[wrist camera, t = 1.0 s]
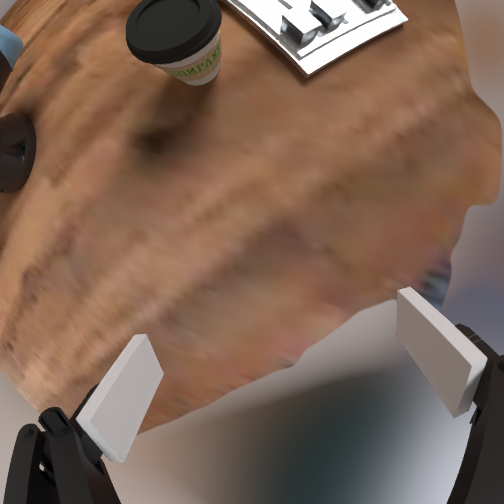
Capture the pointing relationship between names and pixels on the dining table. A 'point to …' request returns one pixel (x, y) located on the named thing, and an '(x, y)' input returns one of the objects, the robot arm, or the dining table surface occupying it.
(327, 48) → the panel
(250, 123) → the dining table surface
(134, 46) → the coffee cup
